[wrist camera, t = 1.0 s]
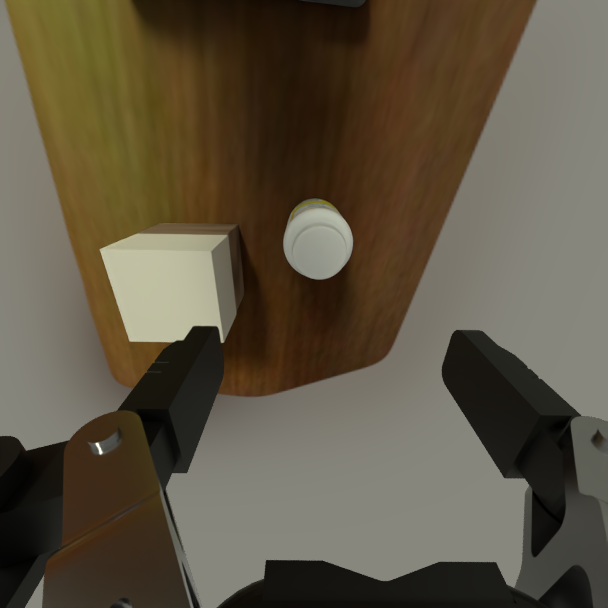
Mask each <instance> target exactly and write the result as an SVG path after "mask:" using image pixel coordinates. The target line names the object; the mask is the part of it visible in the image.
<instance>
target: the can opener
mask: <svg viewBox="0 0 608 608" xmlns="http://www.w3.org/2000/svg"><path fill="white" fill-rule="evenodd" d="M299 1H308V2H316V3H324V4H332V5H340V6H348V7H359V6H361V5H362V4H363V3H364V2H365V1H366V0H299Z"/></svg>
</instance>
